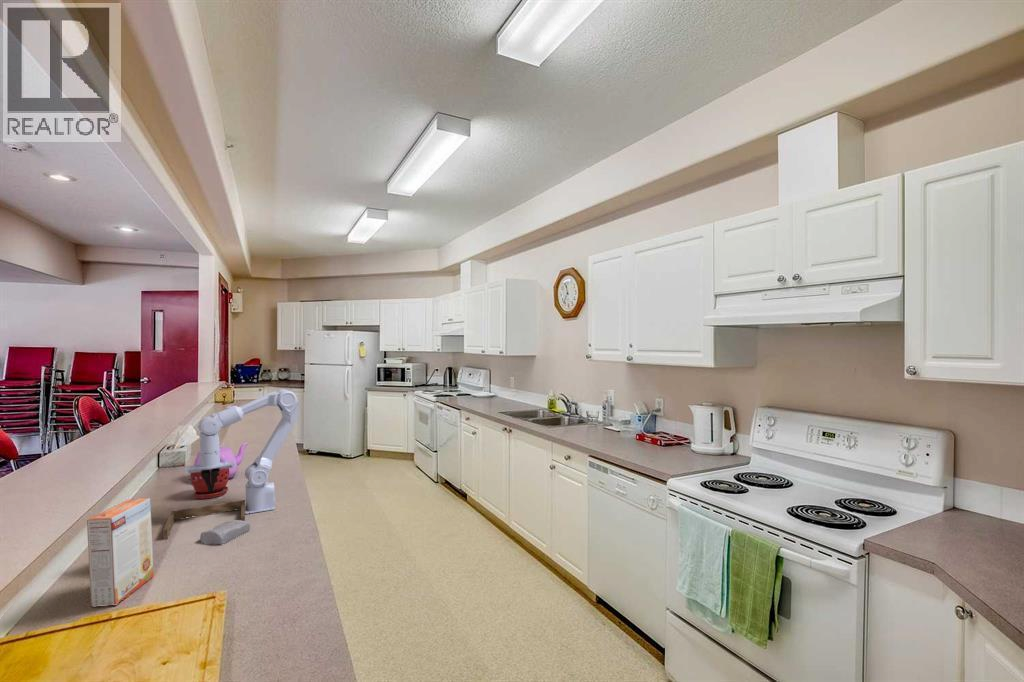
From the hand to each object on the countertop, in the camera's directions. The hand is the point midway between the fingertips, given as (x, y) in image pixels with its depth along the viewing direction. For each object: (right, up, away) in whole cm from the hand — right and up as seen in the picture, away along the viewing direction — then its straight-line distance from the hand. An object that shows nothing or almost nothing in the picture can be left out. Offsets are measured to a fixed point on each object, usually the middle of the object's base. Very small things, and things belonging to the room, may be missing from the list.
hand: (211, 491), depth 168 cm
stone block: (+13, -10, -15) cm, 23 cm away
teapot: (-27, -10, +49) cm, 57 cm away
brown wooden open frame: (+1, -9, -4) cm, 10 cm away
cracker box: (+8, -10, -48) cm, 50 cm away
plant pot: (-16, -10, +26) cm, 32 cm away
